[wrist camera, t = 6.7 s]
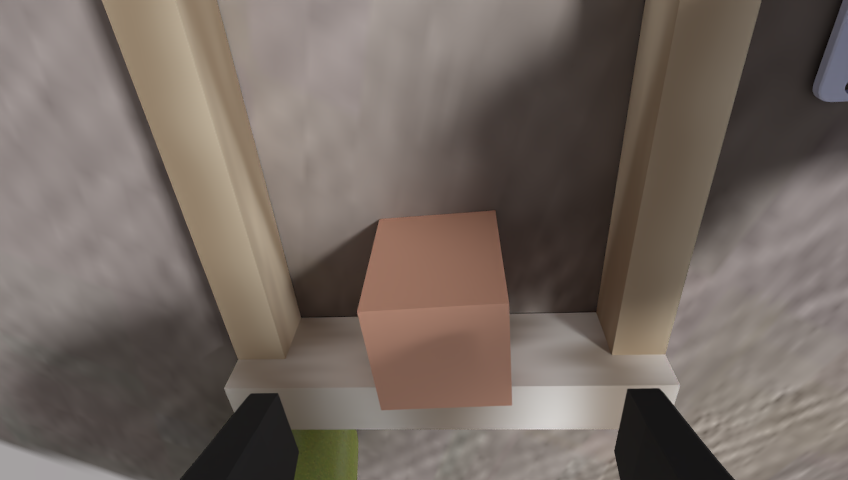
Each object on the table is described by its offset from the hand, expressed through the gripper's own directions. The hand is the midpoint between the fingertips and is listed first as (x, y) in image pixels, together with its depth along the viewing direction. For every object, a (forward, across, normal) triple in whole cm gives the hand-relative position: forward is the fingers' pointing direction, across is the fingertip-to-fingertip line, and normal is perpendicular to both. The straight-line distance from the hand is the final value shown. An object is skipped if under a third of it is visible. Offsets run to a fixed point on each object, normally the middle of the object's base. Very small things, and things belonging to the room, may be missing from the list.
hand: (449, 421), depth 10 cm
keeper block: (+10, +1, +3) cm, 10 cm away
